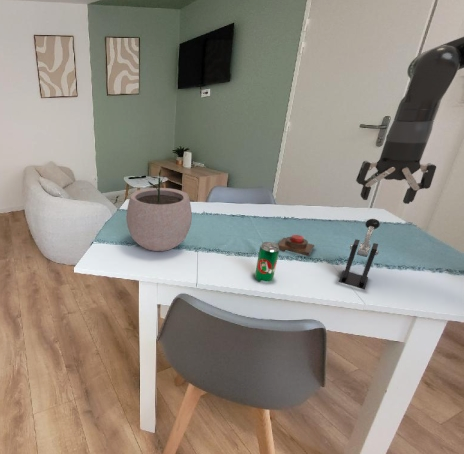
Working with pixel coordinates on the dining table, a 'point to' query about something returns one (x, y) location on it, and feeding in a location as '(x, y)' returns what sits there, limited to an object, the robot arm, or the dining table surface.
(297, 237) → the button
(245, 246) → the dining table surface
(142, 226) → the plant pot
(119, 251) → the dining table surface
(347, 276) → the lever bracket
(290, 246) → the button housing
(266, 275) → the soda can
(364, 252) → the press lever
